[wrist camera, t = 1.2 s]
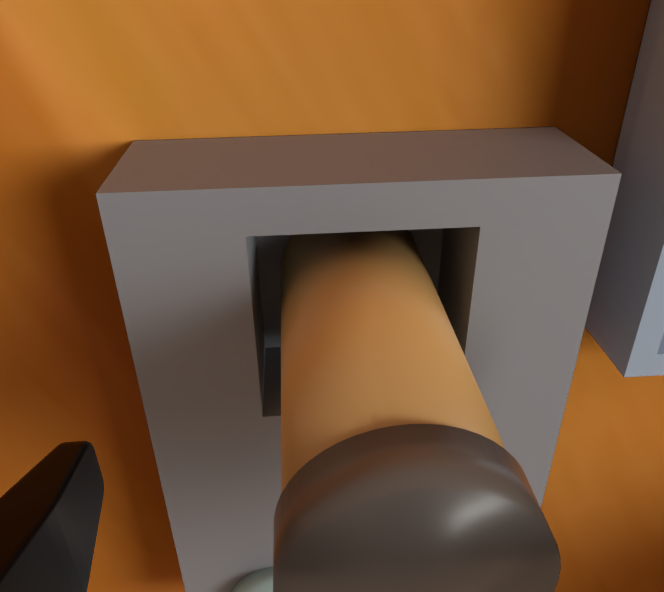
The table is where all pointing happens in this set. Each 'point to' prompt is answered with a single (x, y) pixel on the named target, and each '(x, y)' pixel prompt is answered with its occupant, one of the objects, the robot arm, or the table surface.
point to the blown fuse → (390, 436)
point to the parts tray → (636, 224)
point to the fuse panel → (265, 295)
